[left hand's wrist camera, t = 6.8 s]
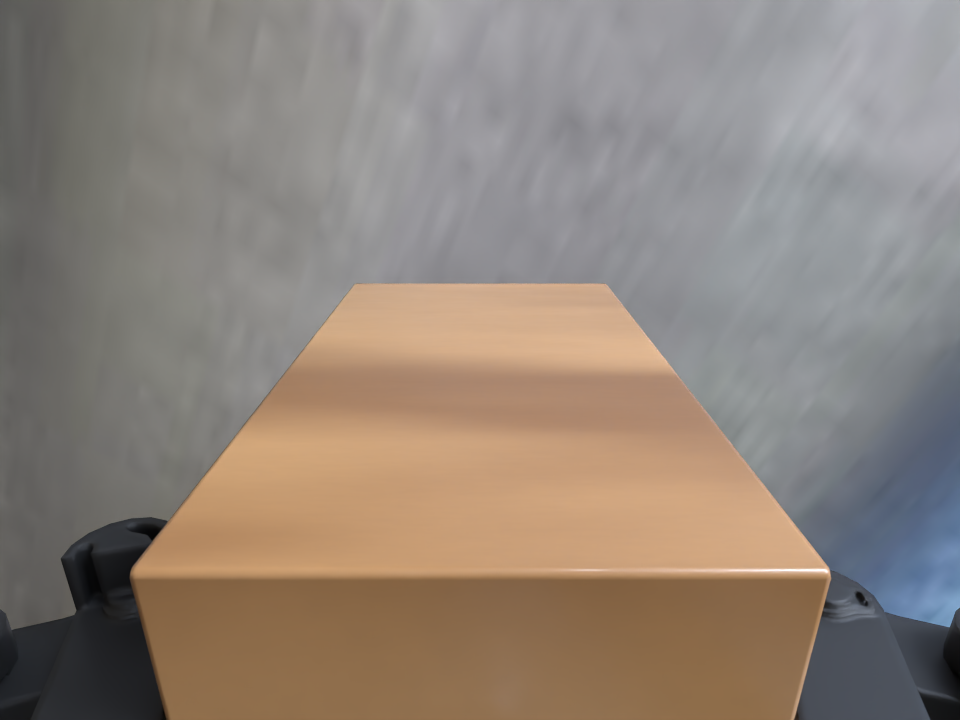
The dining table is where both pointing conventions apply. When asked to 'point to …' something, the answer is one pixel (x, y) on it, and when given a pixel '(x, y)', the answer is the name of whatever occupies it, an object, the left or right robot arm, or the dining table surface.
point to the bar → (480, 531)
